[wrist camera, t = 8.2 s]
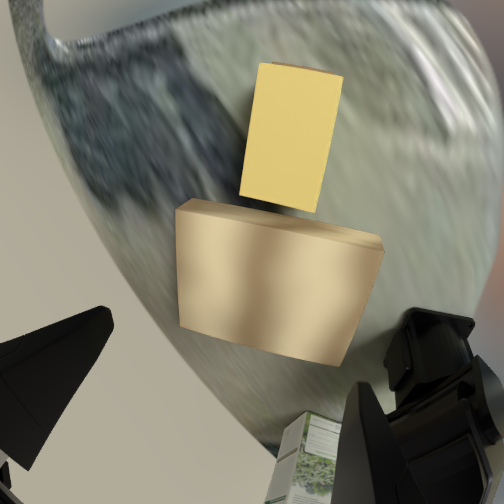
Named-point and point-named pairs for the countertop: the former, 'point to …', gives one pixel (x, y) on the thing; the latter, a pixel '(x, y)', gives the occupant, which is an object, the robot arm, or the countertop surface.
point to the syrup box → (305, 462)
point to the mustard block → (290, 134)
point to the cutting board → (273, 279)
